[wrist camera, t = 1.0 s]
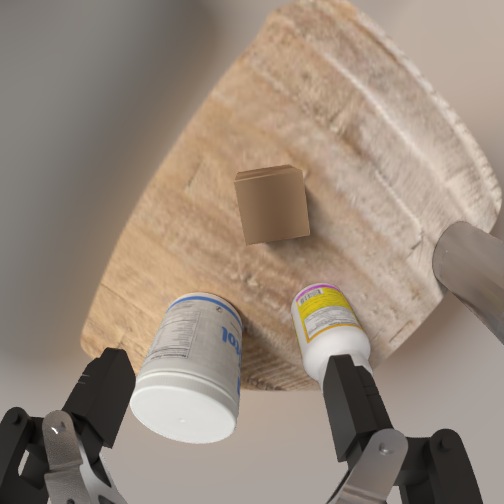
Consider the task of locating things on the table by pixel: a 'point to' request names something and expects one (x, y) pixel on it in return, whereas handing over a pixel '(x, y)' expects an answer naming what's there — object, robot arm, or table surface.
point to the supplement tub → (192, 372)
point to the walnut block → (272, 204)
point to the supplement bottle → (327, 329)
